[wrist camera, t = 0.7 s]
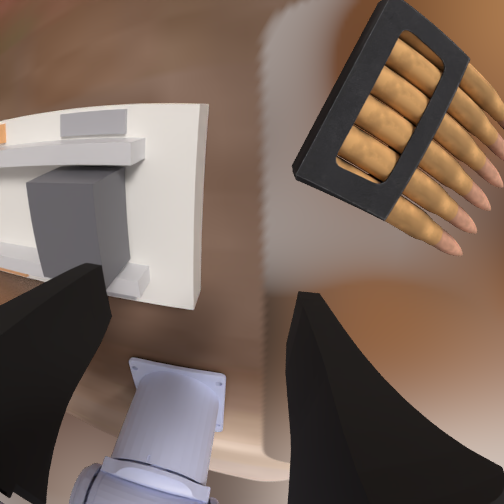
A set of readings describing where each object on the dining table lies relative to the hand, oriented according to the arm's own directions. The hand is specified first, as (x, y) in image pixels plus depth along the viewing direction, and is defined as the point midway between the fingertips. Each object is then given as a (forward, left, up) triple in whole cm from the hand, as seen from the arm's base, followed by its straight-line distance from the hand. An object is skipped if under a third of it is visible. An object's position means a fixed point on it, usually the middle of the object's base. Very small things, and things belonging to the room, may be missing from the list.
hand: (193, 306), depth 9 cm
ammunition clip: (+8, -4, -7) cm, 11 cm away
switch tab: (0, +7, -6) cm, 9 cm away
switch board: (0, +11, -8) cm, 13 cm away
